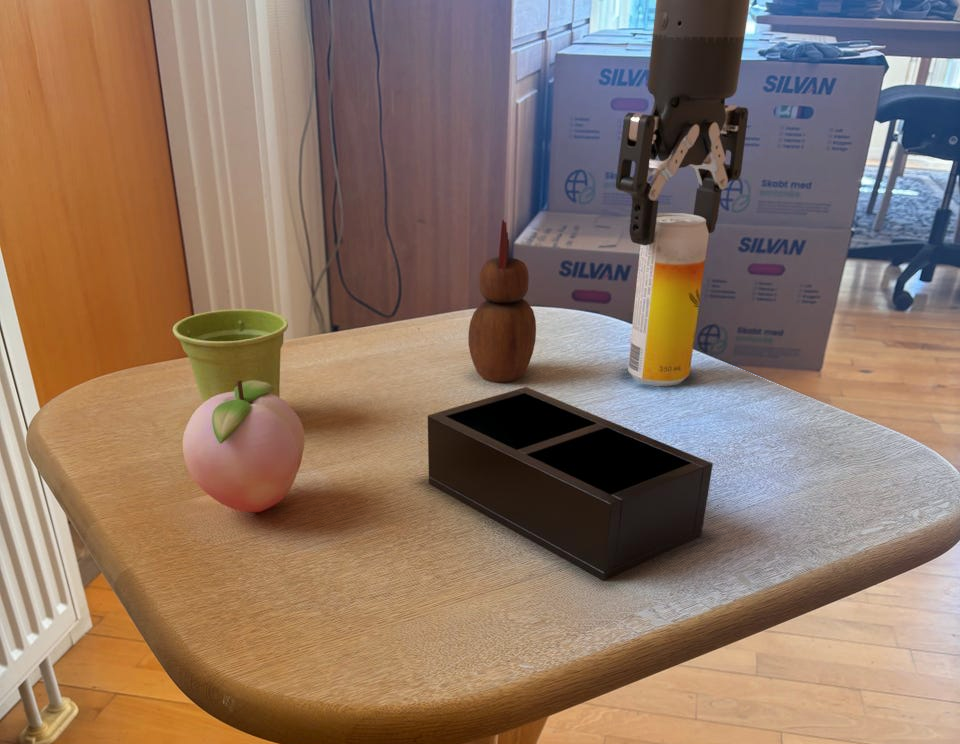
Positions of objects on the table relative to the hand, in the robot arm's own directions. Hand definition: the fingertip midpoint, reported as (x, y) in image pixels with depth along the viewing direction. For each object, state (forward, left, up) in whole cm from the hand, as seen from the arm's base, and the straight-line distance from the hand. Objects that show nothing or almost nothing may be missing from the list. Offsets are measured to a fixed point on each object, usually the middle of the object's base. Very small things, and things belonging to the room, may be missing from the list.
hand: (673, 237), depth 89 cm
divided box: (+28, +15, -13) cm, 34 cm away
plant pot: (+38, -15, -14) cm, 43 cm away
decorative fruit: (+46, +1, -14) cm, 48 cm away
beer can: (0, 0, -14) cm, 14 cm away
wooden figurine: (+12, -10, -14) cm, 21 cm away
